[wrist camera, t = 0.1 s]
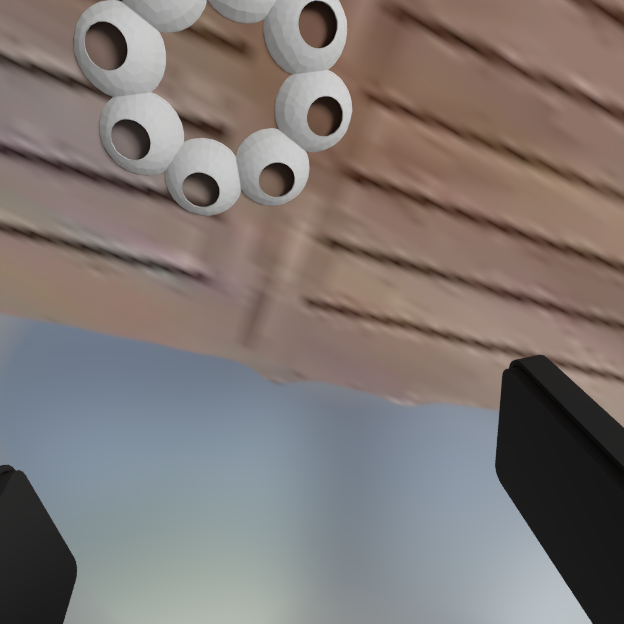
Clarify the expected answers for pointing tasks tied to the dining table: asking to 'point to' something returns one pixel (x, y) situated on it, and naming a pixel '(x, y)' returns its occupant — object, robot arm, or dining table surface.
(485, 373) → the dining table surface
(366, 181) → the dining table surface
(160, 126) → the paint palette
